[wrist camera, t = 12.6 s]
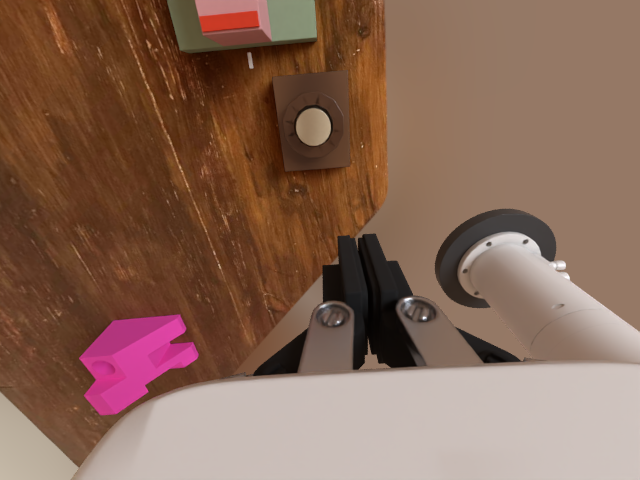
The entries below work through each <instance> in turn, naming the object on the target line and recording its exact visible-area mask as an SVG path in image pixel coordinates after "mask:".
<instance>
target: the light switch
mask: <svg viewBox="0 0 640 480" xmlns="http://www.w3.org/2000/svg"><path fill="white" fill-rule="evenodd" d="M272 81H273V88H274V96H275V103H276V110H277V117H278V125H279V132H280V139H281V146H282V154H283V161H284V168H285V172H287V171H300V170H313V169H326V168H338V167H350V136H349V95H348V70H342V71H331V72H320V73H309V74H298V75H287V76H276V77H272ZM309 108H318V109H320V110H322V111H324V112H325V113H326V115H327V116H328V118H329V120H330V124H331V130H330V134H329V137H328V138H327V140H326V141H325V142H324V143H322V144H320V145H317V146H310V145H307V144H305V143H303V142H302V141H301V140H300V138H299V137H298V135H297V132H296V122H297V119H298V117H299V116H300V114H301V113H302V112H303V111H305V110H306V109H309Z"/></svg>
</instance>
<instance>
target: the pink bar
mask: <svg viewBox="0 0 640 480" xmlns="http://www.w3.org/2000/svg"><path fill="white" fill-rule="evenodd" d="M195 4H196V8H197V13H198V17H199V21H200V26H201V30H202V34H203V36H205V37H207V38H209V39H211V40H213V41H215V42H217V43H218V44H220V45H222V46H231V45H242V44H252V43H262V42H272V36H271V29H270V21H269V14H268V6H267V0H195Z"/></svg>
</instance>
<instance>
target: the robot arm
mask: <svg viewBox="0 0 640 480" xmlns="http://www.w3.org/2000/svg"><path fill="white" fill-rule="evenodd" d="M338 257H339V264H337V265H323V303H321V304H319V305H318V306H317V307H316V308H315V309H314V310H313V312H312V315H311V319H310V324H309V327H308V328H307V329H306V330H305V331H304V332H302V334H300V335H299V336H297V337H296V338H295V339H294V340H292V341H291V342H290V343H288V344H287V345H286V346H285V347H283V348H282V349H281V350H280V351H278V352H277V353H276V354H274V355H273V356H272V357H271V358H269V359H268V360H267V361H266V362H264V363H263V364H262V365H261V366H260V367H259V368H258V369H257V370H256V371H255V372H254V374H250V375H247V376H246V373H245V372H244V373H240V374H236V375H232V376H228V377H225V378H221V379H217V380H211V381H206V382H201V383H195V384H192V385H188V386H185V387H181V388H178V389H174V390H172V391H169V392H167V393H164V394H162V395H159V396H157V397H154V398H152V399H150V400H148V401H146V402H144V403H143V404H141V405H139V406H137V407H136V408H134V409H132V410H131V411H130V412H128V413H127V414H126V415H124V416H123V417H122V418H121V419H120V420H119V421H118V422H116V423H115V424H114V425H113V426H112V427H111V429H110V430H109V431H108V432H107V433H106V434H105V435H104V436H103V438H102V439H101V440H100V441H99V442H98V444H97V445H96V446H95V447H94V449H93V450H92V451H91V453H90V454H89V455H88V457H87V458H86V459H85V461H84V462H83V463H82V465H81V466H80V467H79V469H78V470H77V472H76V473H75V475H74V476H73V478H72V479H71V480H640V332H639V331H638V330H636V329H635V328H633V327H632V326H631V325H629V324H628V323H626V322H625V321H624V320H622V319H621V318H620V317H618V316H617V315H615V314H614V313H613V312H611V311H610V310H608V309H607V308H606V307H605V306H603V305H602V304H601V303H599V302H598V301H597V300H595V299H594V298H592V297H591V296H590V295H588V294H587V293H585V292H584V291H583V290H582V289H580V288H579V287H578V286H576V285H574V284H573V283H572V282H571V281H570V278H569V275H568V274H567V273H565V272H557V271H556V270H563V269H565V268H566V264H565V262H564V261H552V262H549V261H548V260H546V259H545V258H543V257H542V256H541V252H540V249H539V247H538V245H537V244H536V242H535V241H533V240H532V239H531V238H529V237H527V236H526V235H524V234H521V233H518V232H500V233H496V234H492V235H490V236H487V237H485V238H483V239H481V240H480V241H478V242H477V243H475V244H474V245H473V246H471V247H470V248H469V249H468V250H467V251H466V253H465V254H464V256H463V257H462V259H461V261H460V263H459V266H458V271H457V276H458V280H459V282H460V284H461V286H462V287H463V288H464V290H465V291H466V292H467V293H469V294H470V295H472V296H474V297H477V298H482V299H485V300H486V302H487V303H488V304H489V305H490V307H491V308H492V309H493V310H494V312H495V313H496V314H497V315H498V316H499V318H500V319H501V320H502V321H503V322H504V324H505V325H506V326H507V327H508V329H509V330H510V331H511V332H512V334H513V335H514V336H515V337H516V338H517V340H518V341H519V342H520V343H521V345H522V346H523V347H524V348H525V350H526V351H527V352H528V353H529V354H530V356H531V357H532V358H533V359H531V358H524V360H523V361H520V360H519V359H518V358H517V357H515V356H514V355H512V354H510V353H508V352H506V351H505V350H502V349H500V348H498V347H496V346H494V345H492V344H490V343H488V342H486V341H483V340H482V339H479V338H477V337H475V336H473V335H471V334H469V333H467V332H465V331H463V330H461V329H458V328H456V327H455V326H454V325H453V324H452V323H451V321H450V320H449V319H448V318H447V316H446V315H445V314H444V313H443V311H442V310H441V309H440V308H439V306H437V305H436V304H435V303H434V302H433V301H431V300H429V299H427V298H424V297H420V296H413V293H412V291H411V289H410V287H409V285H408V283H407V281H406V279H405V277H404V275H403V272H402V270H401V268H400V266H399V264H398V262H397V261H386V258H385V256H384V254H383V251H382V248H381V246H380V244H379V241H378V239H377V236H376V234H363V236H362V238H358V249H357V245H356V241H355V238H350V235H347V236H338ZM368 340H369V344H370V350H371V353H372V354H373V355H374V354H377V359H378V363H379V364H380V363H385V364H387V365H388V366H389V367H391V368H386V369H385V368H383V369H364V370H358V369H359V368H360V367H361V366H362V365H363V364H364V363H365V355H367V354H368Z"/></svg>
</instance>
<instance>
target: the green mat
mask: <svg viewBox="0 0 640 480" xmlns="http://www.w3.org/2000/svg"><path fill="white" fill-rule="evenodd" d="M167 3H168V7H169V11H170V14H171V18H172V22H173V26H174V30H175V33H176V37H177V41H178V45H179V48H180V51H183V52H186V53H197V52H207V51H218V50H228V49H239V48H249V47H260V46H270V45H281V44H292V43H302V42H313V41H317V32H316V17H315V2H314V0H267V6H268V14H269V21H270V29H271V36H272V42H262V43H252V44H242V45H231V46H222V45H220V44H218V43H217V42H215V41H213V40H211V39H209V38H207V37H205V36H203V34H202V30H201V26H200V21H199V17H198V13H197V8H196V4H195V0H167ZM247 55H248V61H249V67H250V69H253V63H252V57H251V52H247Z"/></svg>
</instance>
